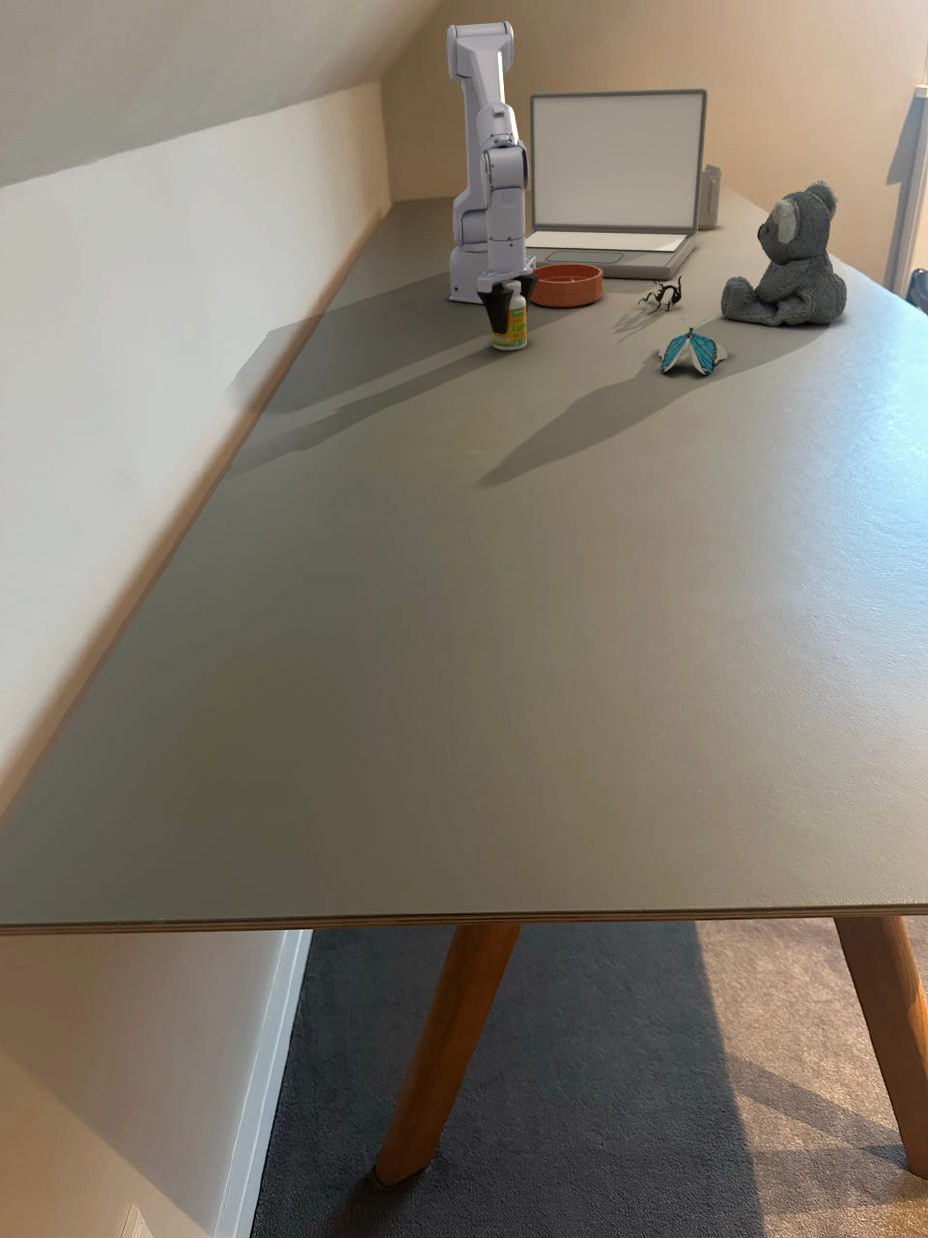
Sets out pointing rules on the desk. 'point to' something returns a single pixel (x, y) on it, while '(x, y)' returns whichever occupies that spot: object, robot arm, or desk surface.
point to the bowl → (567, 285)
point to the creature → (675, 297)
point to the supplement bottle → (513, 321)
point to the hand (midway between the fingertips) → (509, 327)
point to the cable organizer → (709, 197)
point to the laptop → (616, 179)
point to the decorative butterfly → (693, 351)
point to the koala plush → (792, 265)
